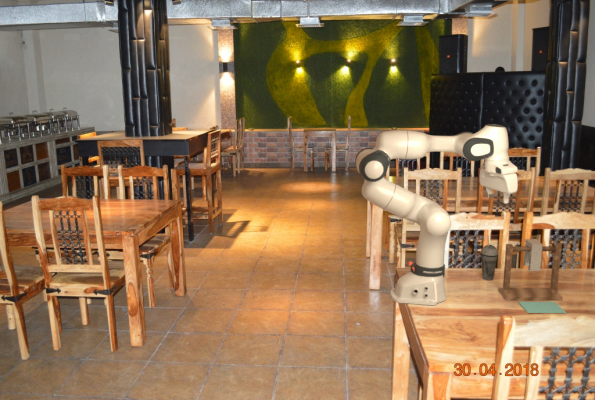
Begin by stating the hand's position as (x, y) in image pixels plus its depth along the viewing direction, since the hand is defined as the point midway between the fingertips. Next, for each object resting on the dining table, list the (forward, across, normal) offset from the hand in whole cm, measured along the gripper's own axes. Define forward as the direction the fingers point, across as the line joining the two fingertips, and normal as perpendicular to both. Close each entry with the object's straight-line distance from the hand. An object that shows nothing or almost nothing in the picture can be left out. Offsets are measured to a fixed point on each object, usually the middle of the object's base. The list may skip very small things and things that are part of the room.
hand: (498, 200), depth 209 cm
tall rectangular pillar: (+30, +3, +12) cm, 32 cm away
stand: (+42, +3, +11) cm, 43 cm away
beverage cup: (+41, -18, +5) cm, 45 cm away
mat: (+41, +15, +7) cm, 45 cm away
